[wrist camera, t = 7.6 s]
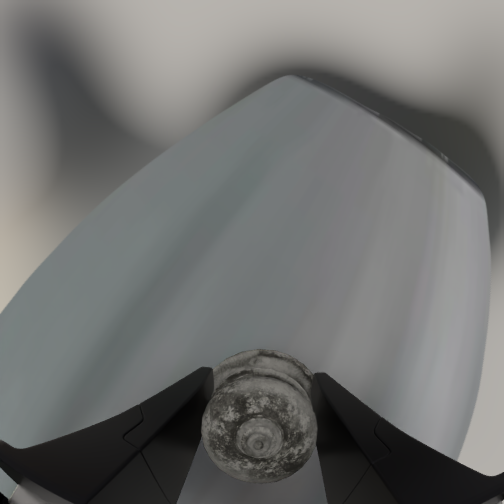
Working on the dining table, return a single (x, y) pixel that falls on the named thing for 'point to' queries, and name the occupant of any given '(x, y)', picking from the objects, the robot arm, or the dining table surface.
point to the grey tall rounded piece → (260, 416)
